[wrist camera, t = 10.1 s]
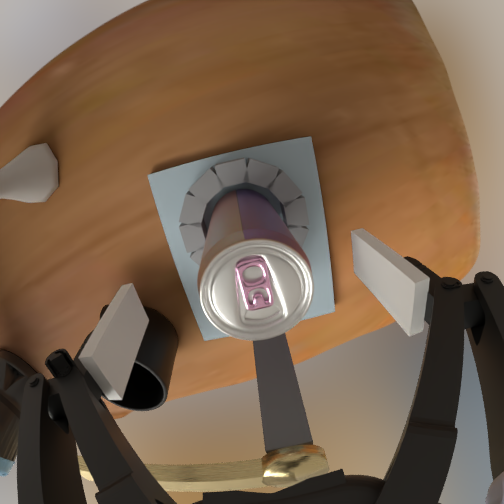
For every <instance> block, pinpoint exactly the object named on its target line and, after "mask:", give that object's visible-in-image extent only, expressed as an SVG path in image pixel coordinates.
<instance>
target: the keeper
mask: <svg viewBox="0 0 504 504" xmlns="http://www.w3.org/2000/svg"><path fill="white" fill-rule="evenodd" d="M78 462H79V468H80V474H81V476H83V477H84V478H85V479H87V480H91V481H94V480H93V478H92V476H91V474H90V472H89V470H88V468H87V465H86V463H85V461H84V459H83V457H82V456H78ZM144 465H145V466H146V468H147V469H148V470H149V471H150V473H151V474H152V475H153V477H154V478H155V479H156V480H157V482H158V483H159V484H160V485H161V486H162V488H163V489H164V490H165V491H184V492H185V491H186V492H188V491H189V492H190V491H191V492H192V491H193V492H201V491H202V492H205V491H228V490H241V489H251V488H260V487H267V486H271V487H290V486H292V485H295V484H297V483H299V482H301V481H303V480H306V479H308V478H311V477H315V476H319V475H323V474H327V473H328V471H329V465H328V462H327V458H326V454H325V451H324V449H323V448H322V447H320V446H316V445H295V446H289V447H284V448H281V449H278V450H275V451H272V452H270V453H268V454H266V455H265V456H263V457H262V458H261V459H254V460H246V461H238V462H228V463H216V464H196V465H157V464H144Z"/></svg>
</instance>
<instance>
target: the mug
mask: <svg viewBox="0 0 504 504" xmlns="http://www.w3.org/2000/svg"><path fill="white" fill-rule="evenodd" d="M108 306H109V305H105V306H104V307H103V308H102V311H101V314H100V319H101V318H102V316H103V314H104V313H105V311H106V309H107V308H108ZM143 308H144V310H145V312H146V315H147V317H148V319H149V322H148V325H147V328H146V330H145V333H144V336H143V339H142V341H141V344H140V347H139V350H138V353H137V356H136V359H135V361H134V364H133V367H132V370H131V373H130V376H129V379H128V383H127V386H126V389H125V392H124V395H123V398H122V400H109V399H108V398H107V397H106V396H105V394H104V393H103V392H102V395H101V396H102V397H103V398H105V399H106V400H108V401H109V402H111V403H113V404H115V405H117V406H120V407H122V408H126V409H129V410H135V411H149V410H153V409H156V408H158V407H160V406H161V405H162V404H163V403H164V402H165V401H166V399H167V395H168V390H169V385H170V380H171V375H172V370H173V365H174V360H175V356H176V351H177V347H178V338H177V334H176V332H175V329H174V328H173V326H172V324H171V323H170V322H169V321H168V320H167V319H166V318H165V317H164V316H163V315H161V314H160V313H159V312H157V311H155V310H153V309H151V308H148V307H144V306H143Z"/></svg>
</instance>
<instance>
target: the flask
mask: <svg viewBox="0 0 504 504" xmlns="http://www.w3.org/2000/svg"><path fill="white" fill-rule="evenodd" d="M58 187H59V185H58V161H57V159H56V158H55V156H54V154H53V153H52V151H51V149H50V148H49V146H48V144H47V143H43V144H38V145H33V146H29V147H28V148H26V149H25V150H24V151H23V152H21V153H20V154H19V155H18V156H17V157H15V158H14V159H13V160H12V161H10V162H9V163H8V164H7V165H5V166H4V167H3V168H1V169H0V199H2V198H4V199H11V200H17V201H22V202H27V203H36V202H46V201H47V199H48V198H49V197H50V196H51V195H52V193H53V192H54V191H55V190H56V189H57V188H58Z"/></svg>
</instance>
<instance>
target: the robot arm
mask: <svg viewBox="0 0 504 504" xmlns="http://www.w3.org/2000/svg"><path fill="white" fill-rule="evenodd" d="M351 238H352V249H353V263H354V273H355V274H356V275H357V276H358V278H359V279H360V280H361V281H362V282H363V283H364V284H365V285H366V287H367V288H368V289H369V290H370V291H371V292H372V293H373V294H374V296H375V297H376V298H377V299H378V300H379V301H380V302H381V304H382V305H383V306H384V307H385V308H386V309H387V311H388V312H389V313H390V314H391V315H392V317H393V318H394V319H395V320H396V321H397V322H398V324H399V325H400V326H401V327H402V328H403V330H404V331H405V332H406V333H407V335H408V336H412V335H414V334H417V333H419V332H421V331H423V327H424V320H425V321H426V322H427V323H428V324H429V330H428V335H427V340H426V347H425V352H424V357H423V362H422V366H421V371H420V375H419V379H418V383H417V387H416V391H415V395H414V399H413V402H412V405H411V409H410V412H409V415H408V418H407V421H406V425H405V427H404V430H403V433H402V436H401V439H400V442H399V444H398V447H397V449H396V452H395V454H394V457H393V459H392V462H391V464H390V466H389V468H388V471H387V473H386V475H385V477H384V479H383V480H382V479H379V478H376V477H371V476H364V475H344V472H343V469H340V470H337V471H334V472H330V473H327V474H323V475H319V476H315V477H311V478H308V479H306V480H303V481H301V482H299V483H297V484H295V485H292V486H290V487H288V488H285V489H283V490H281V491H278V492H275V493H256V492H245V491H236V490H235V491H224V492H206V493H203V500H201V501H198V502H195V503H193V504H441V503H438V501H439V498H440V495H441V492H442V490H443V486H444V484H445V481H446V477H447V474H448V471H449V467H450V464H451V460H452V456H453V452H454V448H455V444H456V439H457V428H455V420H456V415H457V409H458V402H459V395H460V387H461V378H462V367H463V351H464V329H466V331H467V334H468V337H469V341H470V344H471V348H472V352H473V355H474V359H475V363H476V367H477V372H478V376H479V381H480V385H481V390H482V395H483V401H484V407H485V414H486V421H487V429H488V438H489V450H490V451H489V452H490V463H491V471H492V476H493V482H492V483H491V485H490V487H489V489H488V494H487V497H486V501H485V502H486V504H504V286H503V284H502V283H501V281H500V280H499V278H498V277H497V276H496V275H495V274H493V273H491V272H488V271H486V272H479V273H477V274H476V275H475V278H474V283H470V284H464V285H462V283H461V282H460V281H459V280H457V279H455V278H452V277H443V278H441V277H439V276H438V275H437V274H435V273H434V272H433V271H431V270H430V269H429V268H427V267H426V266H425V265H422V263H420V262H419V261H418V260H416V259H414V258H411V257H408V256H407V257H404V258H403V257H402V256H400V255H399V254H398V253H396V252H395V251H394V250H392V249H391V248H390V247H388V246H387V245H385V244H384V243H383V242H381V241H380V240H379V239H377V238H376V237H374V236H373V235H371V234H370V233H369V232H367V231H366V230H364V229H363V228H361V229H357V230H353V231H351ZM148 322H149V319H148V317H147V315H146V312H145V310H144V308H143V306H142V304H141V301H140V299H139V297H138V295H137V292H136V290H135V288H134V285H133V283H130V284H126V285H122V286H121V287H120V289H119V290H118V292H117V294H116V295H115V297H114V298H113V300H112V301H111V303H110V305H109V306H108V308H107V309H106V311H105V313H104V314H103V316H102V318H101V319H100V321H99V323H98V324H97V326H96V328H95V329H94V330H93V331H92V332H91V333H90V334H89V335H88V336H87V337H86V339H85V341H84V344H82V346H81V349H79V351H78V353H77V355H76V356H75V358H74V360H72V358H71V357H70V355H69V354H68V352H67V351H66V349H58V350H56V351H54V352H53V353H51V354H50V355H49V356H48V357H47V359H46V361H45V365H46V366H47V368H48V369H49V370H50V372H51V373H52V375H53V376H54V377H55V378H52V379H49V380H46V378H45V377H44V376H43V375H42V374H41V373H36V372H35V371H34V370H33V369H32V368H31V367H30V366H29V365H28V364H27V363H25V362H24V361H23V360H22V359H20V358H19V357H17V356H16V355H14V354H12V353H10V352H8V351H5V350H0V476H6V475H8V473H9V472H10V470H11V467H12V466H13V464H14V463H15V462H14V461H15V459H16V456H17V489H18V504H87V502H86V498H85V493H84V489H83V484H82V480H81V474H80V468H79V462H78V455H77V448H76V443H77V445H78V447H79V450H80V452H81V454H82V457H83V459H84V461H85V463H86V465H87V468H88V470H89V472H90V474H91V476H92V478H93V480H94V482H95V484H96V486H97V487H98V490H99V492H98V493H96V494H95V497H96V500H97V502H98V504H177V503H176V502H175V501H174V500H173V499H172V498H171V497H170V496H169V495H168V494H167V492H166V491H165V490H164V489H163V488H162V486H161V485H160V484H159V483H158V482H157V480H156V479H155V478H154V477H153V475H152V474H151V473H150V471H149V470H148V469H147V468H146V466H145V465H144V464H143V462H142V461H141V459H140V458H139V457H138V455H137V454H136V452H135V451H134V450H133V448H132V447H131V445H130V444H129V442H128V441H127V439H126V438H125V436H124V435H123V433H122V432H121V430H120V428H119V427H118V425H117V424H116V422H115V420H114V419H113V417H112V415H111V414H110V412H109V410H108V408H107V407H106V405H105V403H104V402H103V400H102V399H101V395H102V392H103V393H104V394H105V396H106V397H107V398H108V399H109V400H122V398H123V395H124V392H125V389H126V386H127V383H128V379H129V376H130V373H131V370H132V367H133V364H134V361H135V359H136V356H137V353H138V350H139V347H140V344H141V341H142V339H143V336H144V333H145V330H146V328H147V325H148Z"/></svg>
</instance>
